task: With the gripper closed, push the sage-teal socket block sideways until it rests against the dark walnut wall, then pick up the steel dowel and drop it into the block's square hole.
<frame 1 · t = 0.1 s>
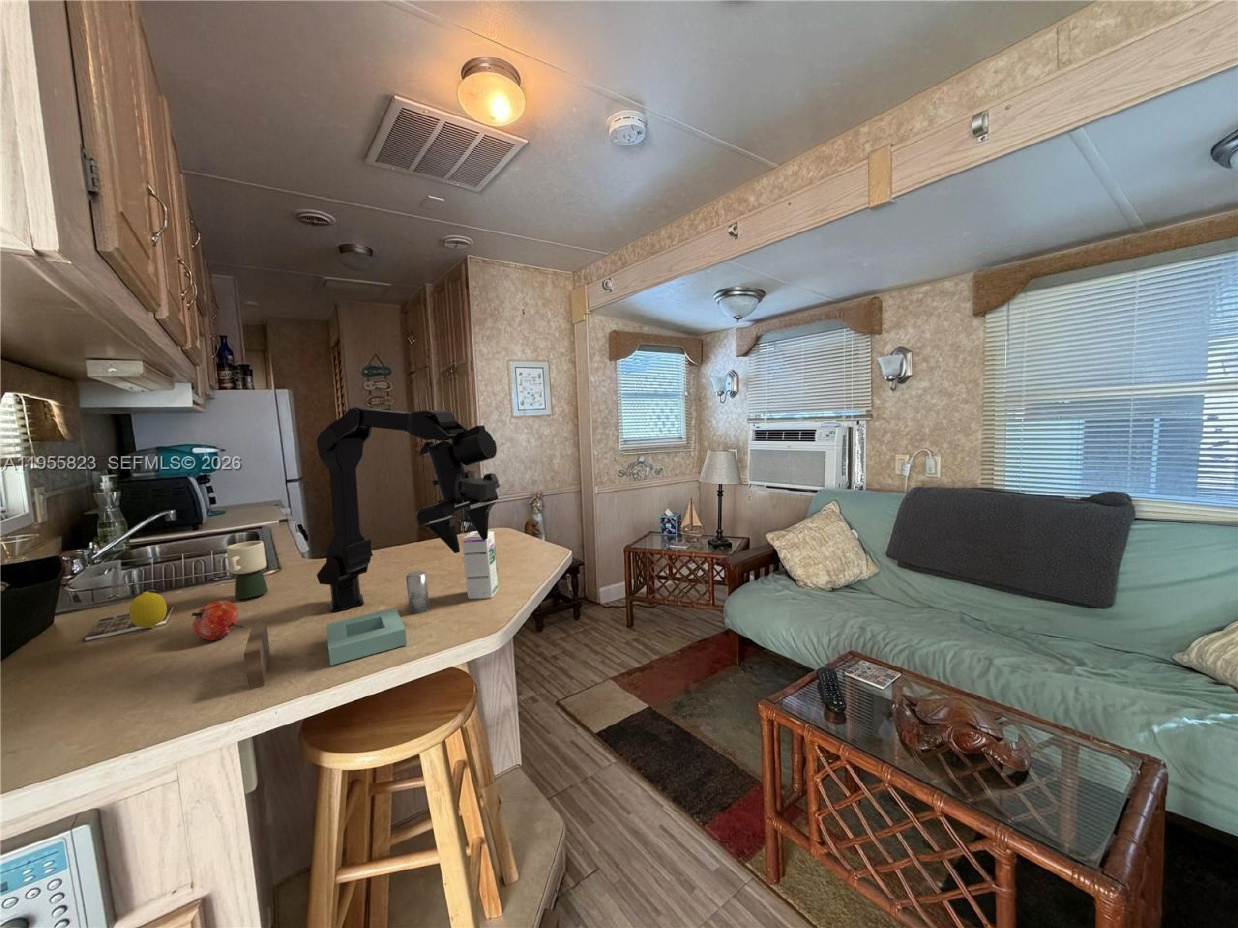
hand: (471, 545, 95), 15 cm above the counter, tool pointing down, fingers open, 9 cm apart
syrup box: (483, 594, 110), on the counter
pomegranate: (220, 637, 94), on the counter
socket block: (365, 633, 88), point 2 cm above the counter, slide at 0.0 cm
backstop wall: (260, 670, 80), on the counter
lemon: (151, 629, 98), on the counter
character mug: (252, 597, 115), on the counter
dowel: (419, 609, 102), on the counter
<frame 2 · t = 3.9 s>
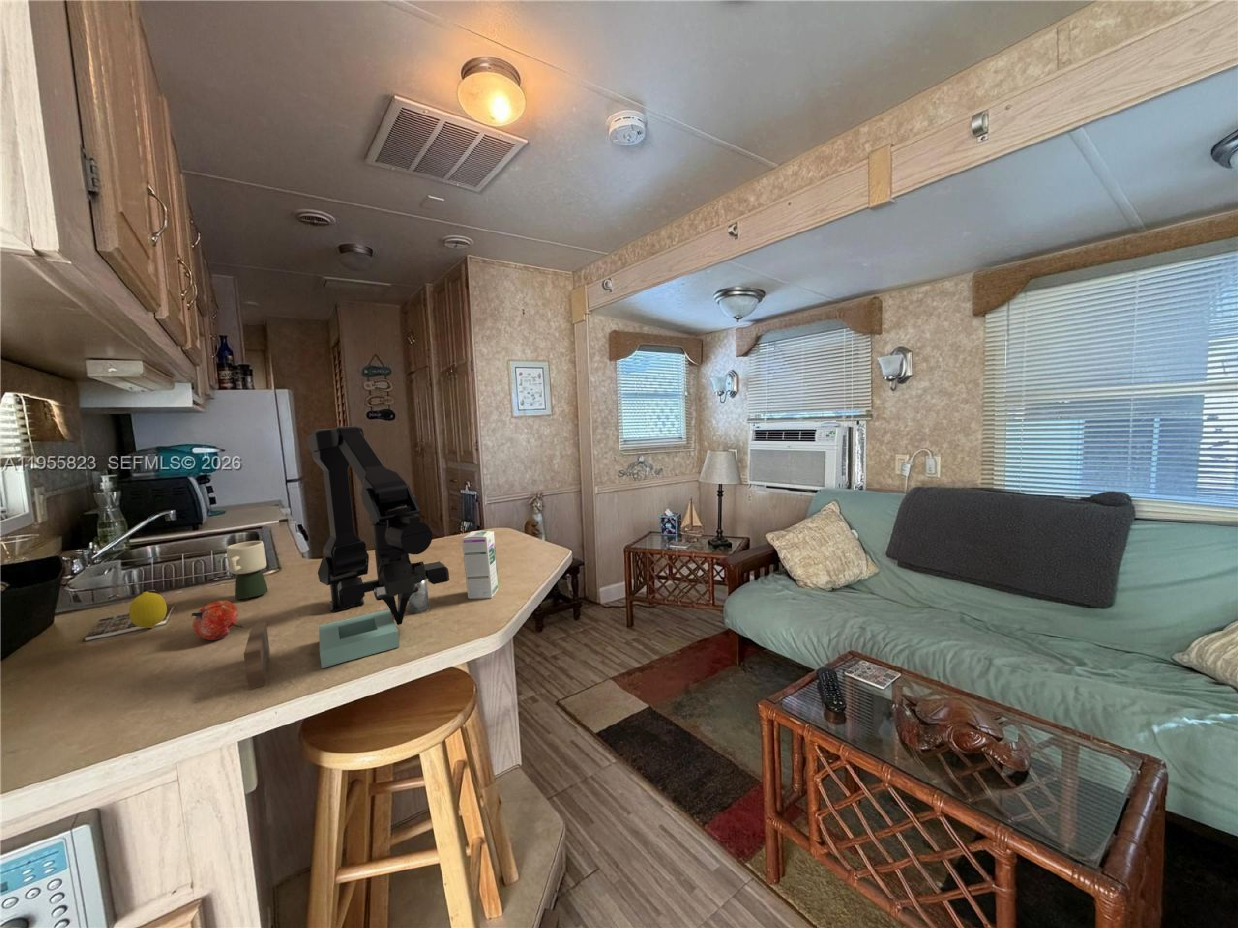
hand: (399, 623, 91), 2 cm above the counter, tool pointing down, fingers closed
socket block: (358, 635, 87), point 2 cm above the counter, slide at 1.2 cm, touching gripper
everything else where it was.
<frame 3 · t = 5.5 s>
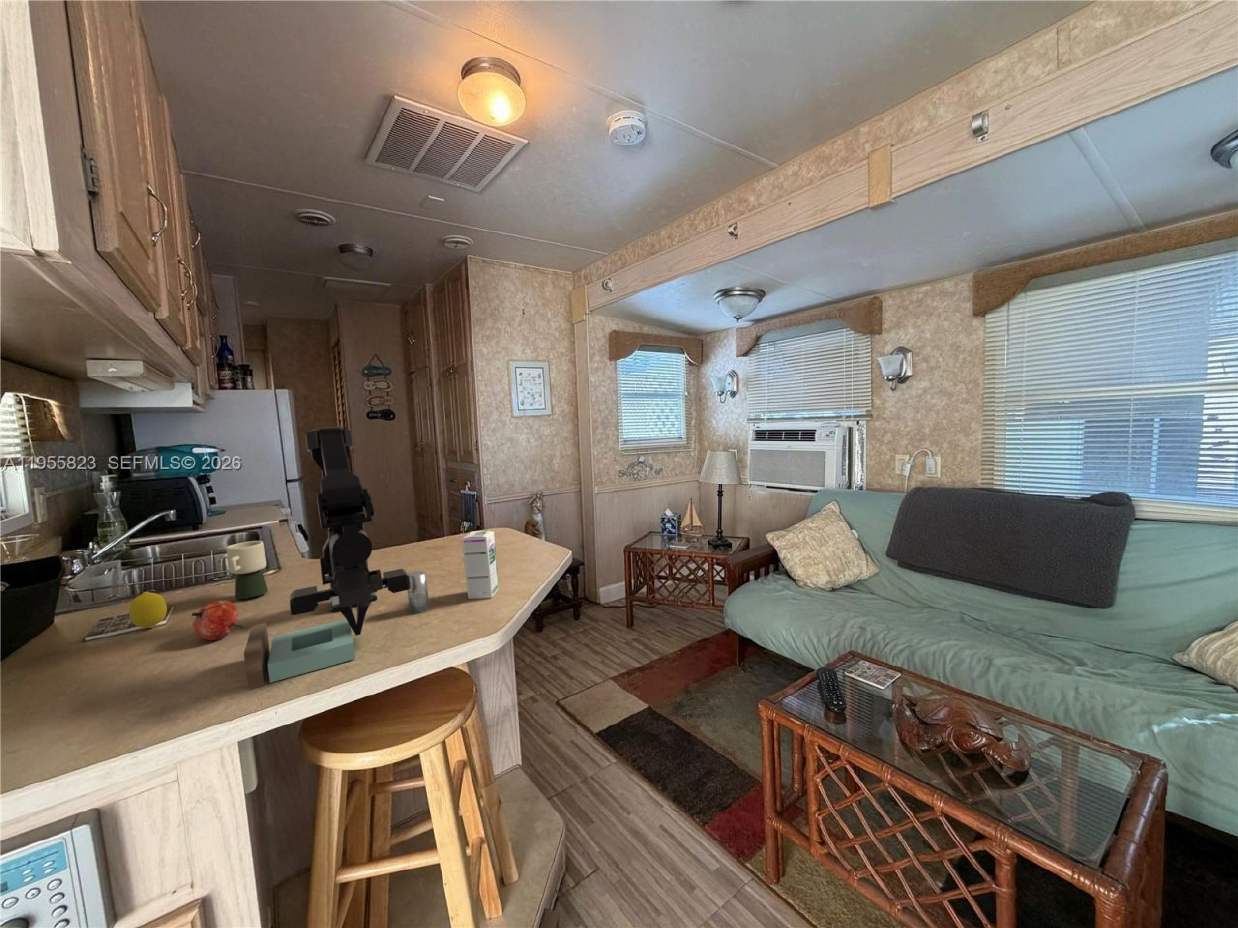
hand: (357, 634, 87), 2 cm above the counter, tool pointing down, fingers closed
socket block: (313, 647, 84), point 2 cm above the counter, slide at 8.3 cm, touching gripper
everything else where it was.
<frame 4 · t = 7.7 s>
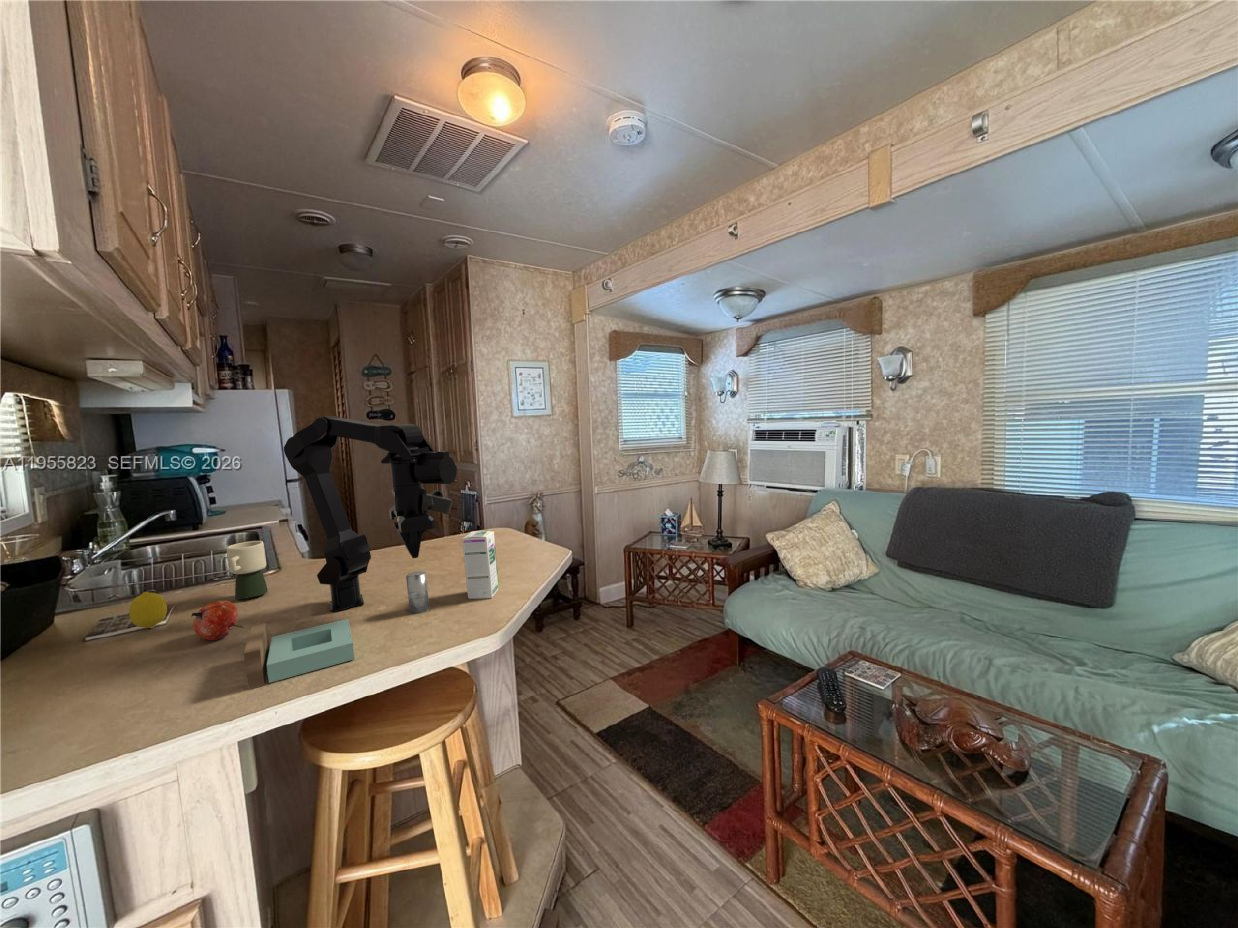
hand: (414, 556, 101), 12 cm above the counter, tool pointing down, fingers open, 3 cm apart
socket block: (312, 647, 83), point 2 cm above the counter, slide at 8.4 cm
everything else where it was.
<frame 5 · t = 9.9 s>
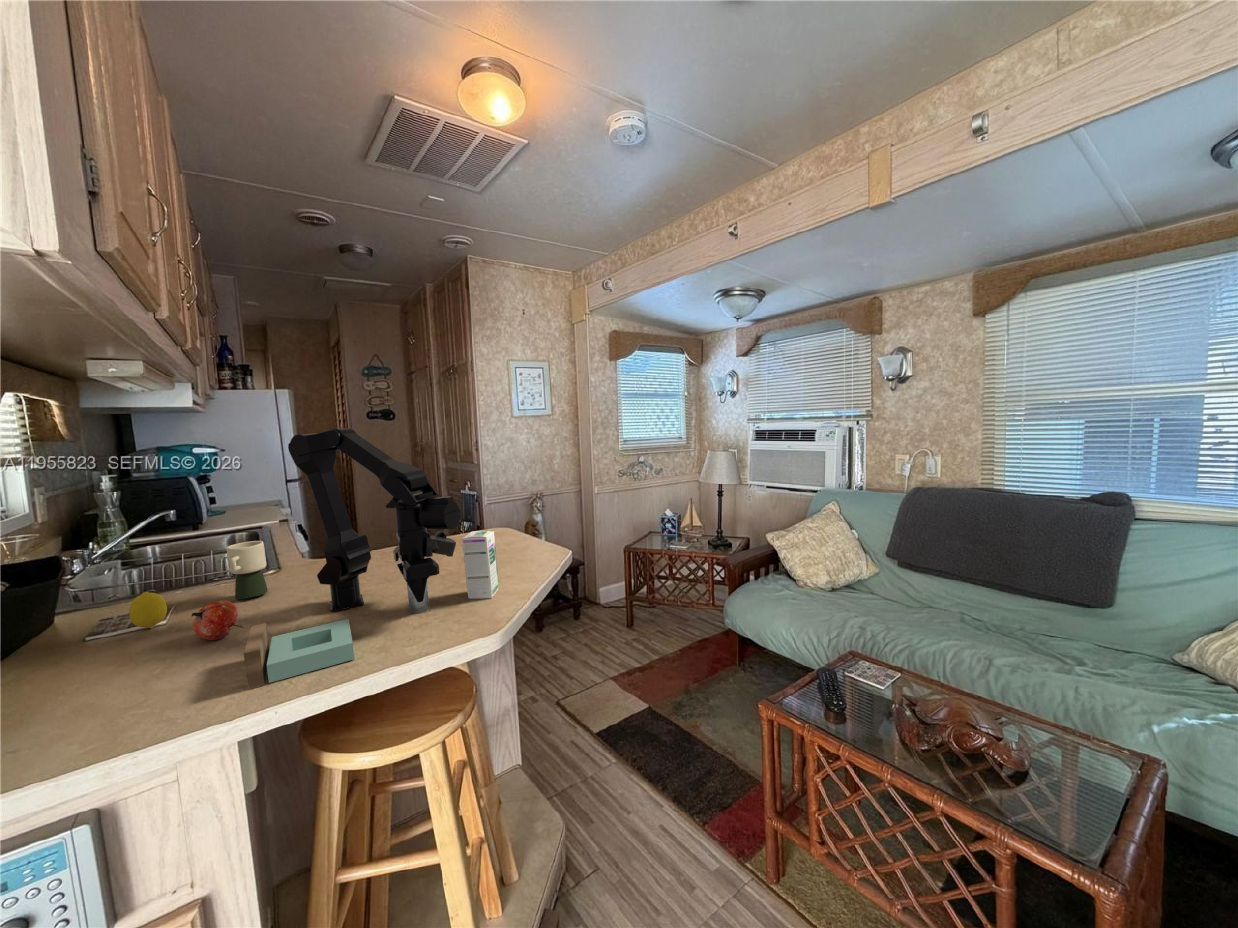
hand: (418, 598, 102), 3 cm above the counter, tool pointing down, fingers closed on dowel, 4 cm apart
dowel: (419, 609, 102), on the counter, touching gripper
everything else where it was.
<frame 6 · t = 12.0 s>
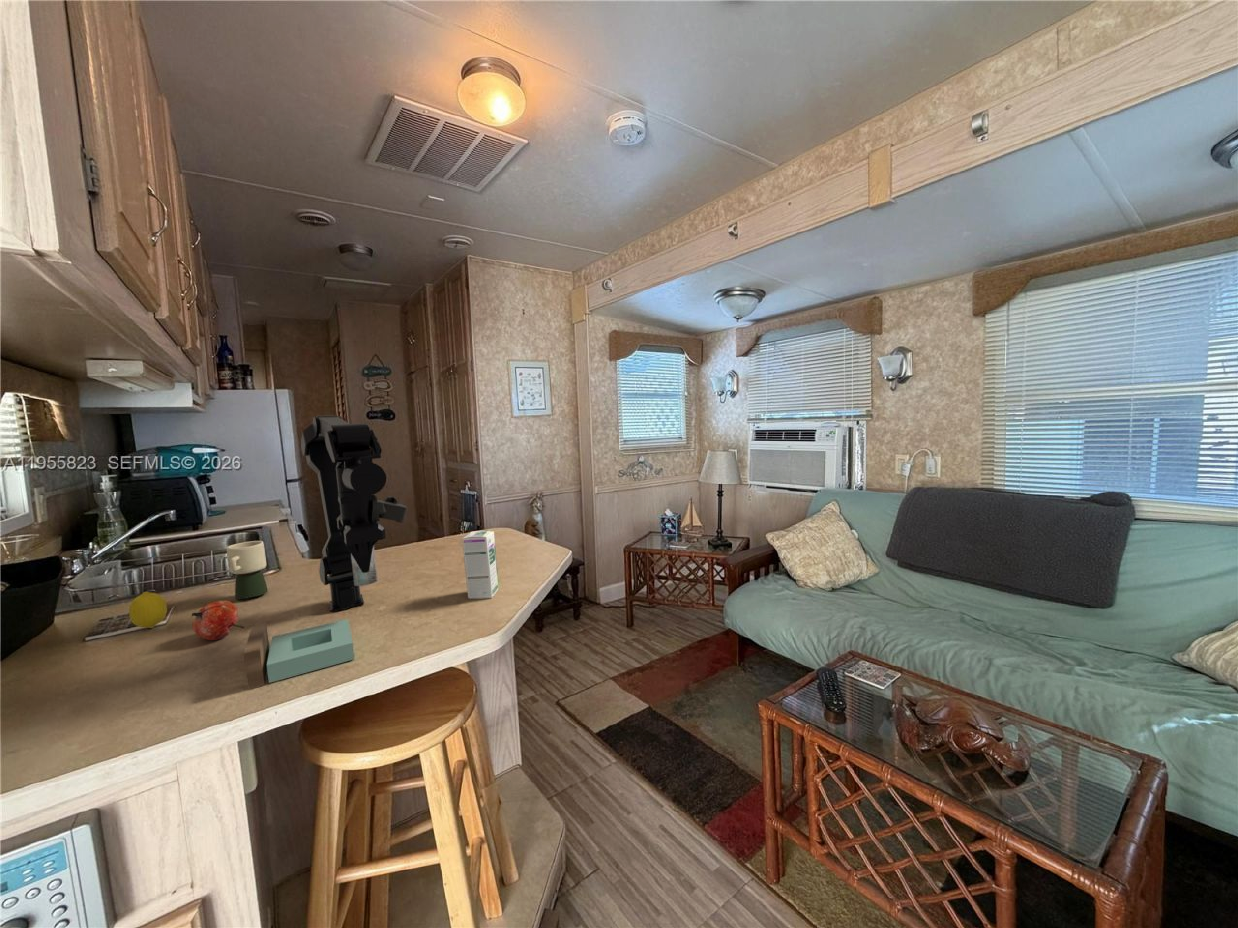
hand: (364, 569, 91), 13 cm above the counter, tool pointing down, fingers closed on dowel, 4 cm apart
dowel: (366, 582, 92), point 10 cm above the counter, touching gripper
everything else where it was.
when the fingers open (4 cm above the counter, at t = 14.5 s): dowel drops 2 cm, resting in socket block.
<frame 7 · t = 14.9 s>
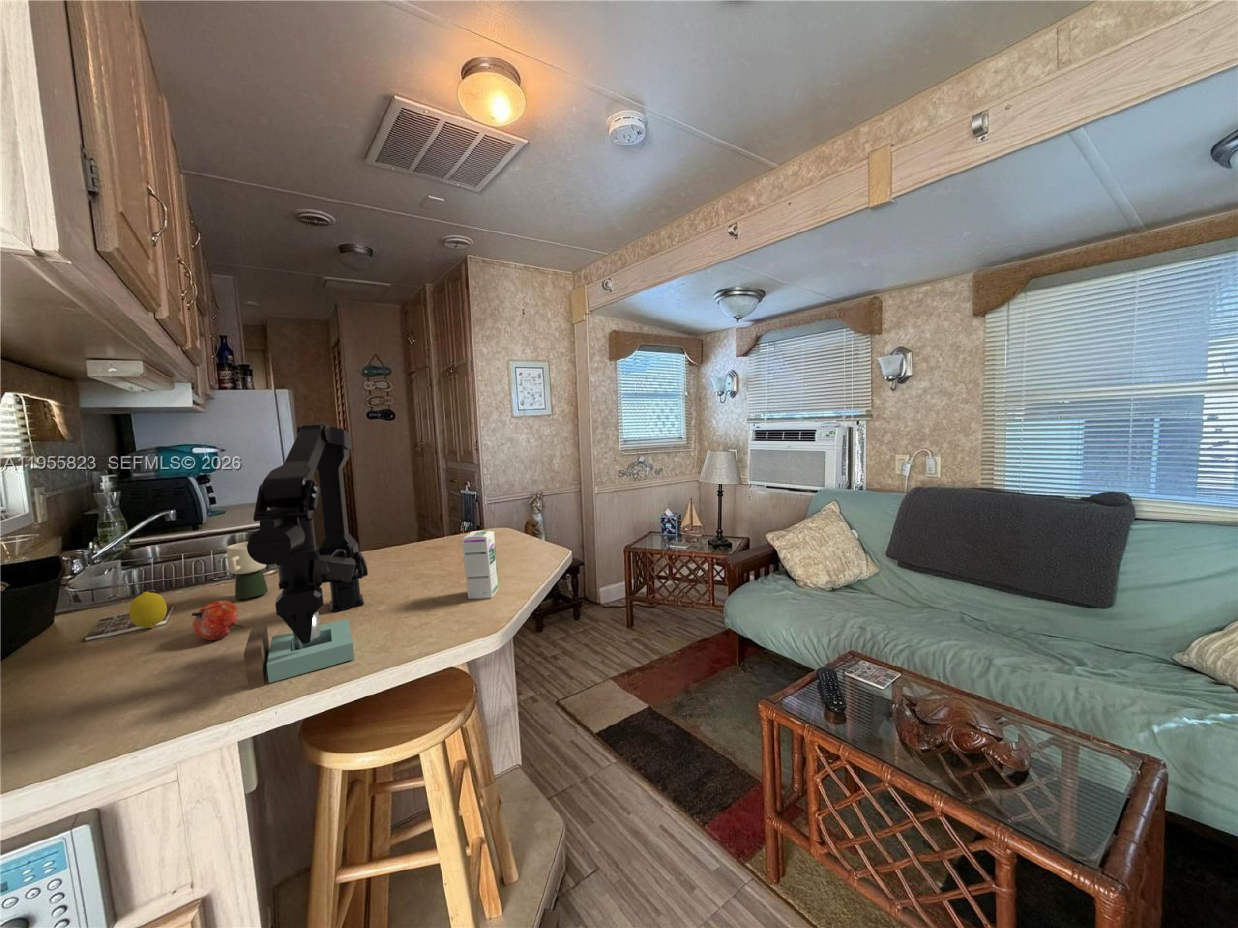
hand: (306, 633, 83), 4 cm above the counter, tool pointing down, fingers open, 8 cm apart
dowel: (310, 657, 83), resting in socket block
everything else where it was.
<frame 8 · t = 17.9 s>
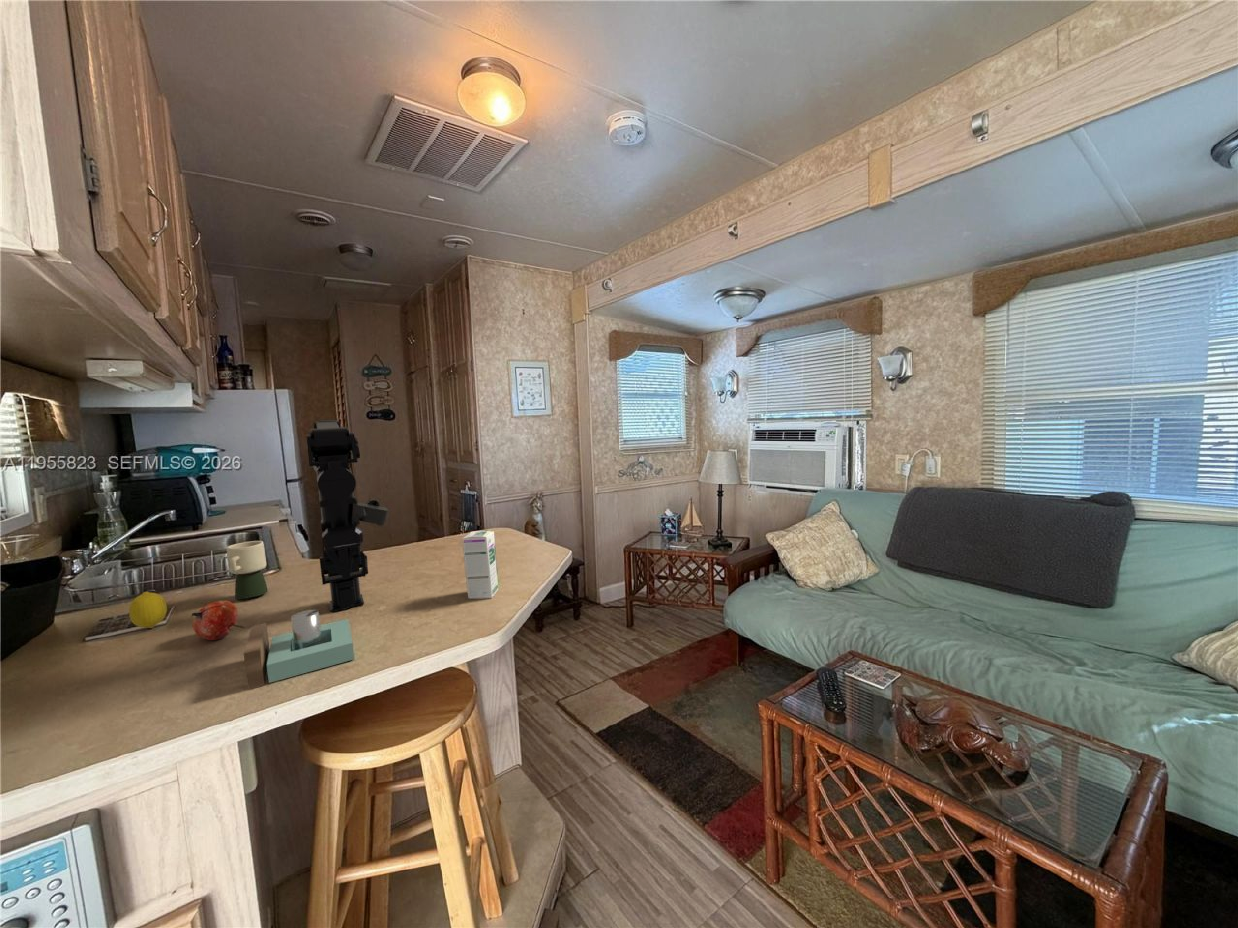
hand: (345, 571, 92), 12 cm above the counter, tool pointing down, fingers open, 9 cm apart
nothing on the counter moved.
at the end: socket block slide at 8.4 cm; dowel 0.1 cm from the target spot, resting in socket block; dowel tilted 0° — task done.
